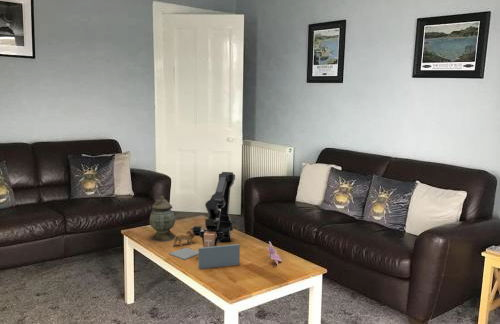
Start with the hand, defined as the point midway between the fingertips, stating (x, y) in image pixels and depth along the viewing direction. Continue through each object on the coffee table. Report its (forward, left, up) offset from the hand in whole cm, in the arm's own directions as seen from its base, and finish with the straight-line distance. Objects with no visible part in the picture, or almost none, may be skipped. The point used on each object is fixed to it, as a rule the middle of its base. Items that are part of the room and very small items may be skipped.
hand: (209, 247), depth 226 cm
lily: (-30, +9, -8) cm, 33 cm away
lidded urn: (+17, -45, -8) cm, 49 cm away
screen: (-4, +6, -8) cm, 11 cm away
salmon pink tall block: (0, -1, -7) cm, 7 cm away
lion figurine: (+7, -30, -8) cm, 32 cm away
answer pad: (+9, -15, -8) cm, 19 cm away
